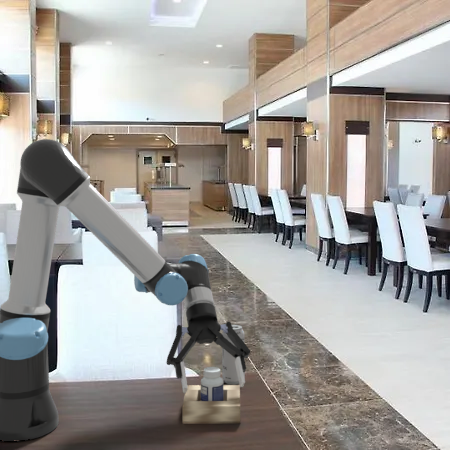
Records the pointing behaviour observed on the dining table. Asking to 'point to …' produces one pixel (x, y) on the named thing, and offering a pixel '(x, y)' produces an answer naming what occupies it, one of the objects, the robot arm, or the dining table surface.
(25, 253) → the robot arm
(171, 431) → the dining table surface
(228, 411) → the socket block
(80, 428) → the dining table surface
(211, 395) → the pill bottle
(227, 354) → the energy drink can
